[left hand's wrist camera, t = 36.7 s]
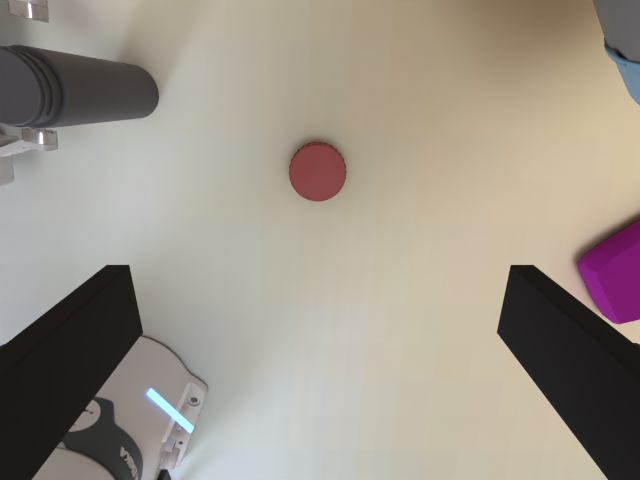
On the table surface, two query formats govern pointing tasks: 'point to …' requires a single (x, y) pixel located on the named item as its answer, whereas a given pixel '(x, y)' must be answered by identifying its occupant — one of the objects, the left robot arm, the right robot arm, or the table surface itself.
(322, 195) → the lid
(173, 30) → the table surface
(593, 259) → the spray bottle
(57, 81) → the jar
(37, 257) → the table surface
